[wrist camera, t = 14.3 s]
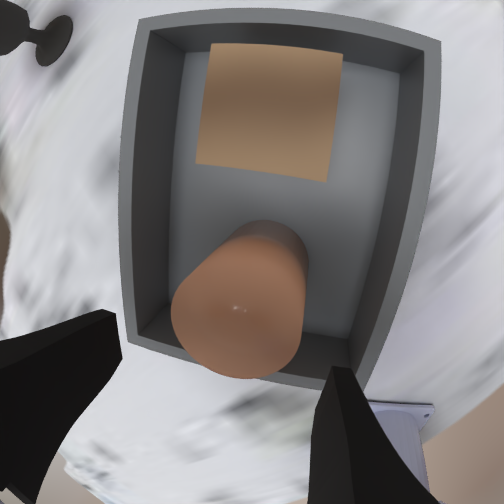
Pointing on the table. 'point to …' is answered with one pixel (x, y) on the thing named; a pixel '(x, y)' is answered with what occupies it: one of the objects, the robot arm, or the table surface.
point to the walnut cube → (270, 109)
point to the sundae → (32, 33)
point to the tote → (280, 180)
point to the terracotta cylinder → (245, 302)
